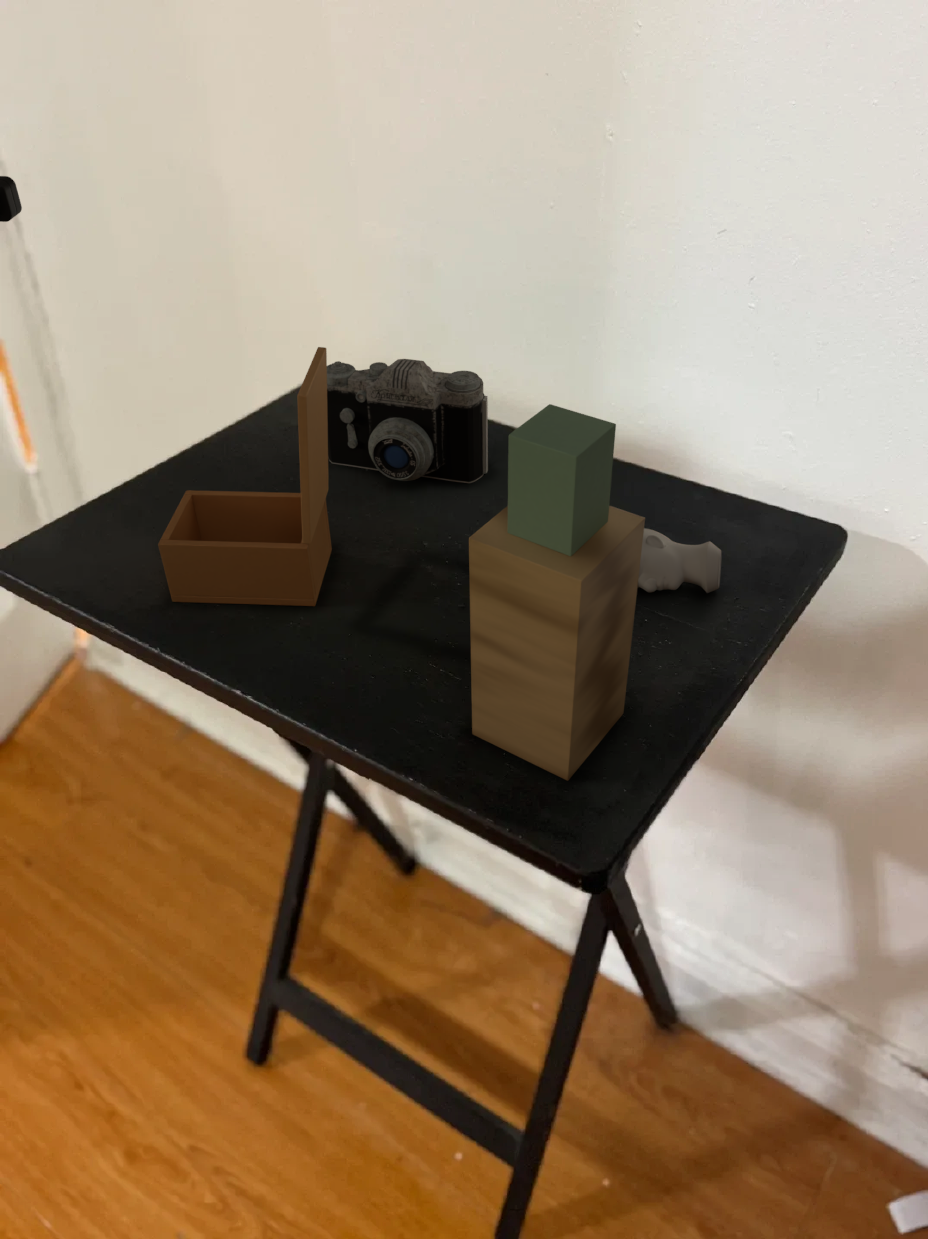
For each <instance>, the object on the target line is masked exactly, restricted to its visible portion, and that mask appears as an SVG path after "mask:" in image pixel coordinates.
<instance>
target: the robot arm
mask: <svg viewBox="0 0 928 1239" xmlns="http://www.w3.org/2000/svg"><path fill="white" fill-rule="evenodd" d="M22 209H23V207H22V203H21V199H20V195H19V192H18V188H17V184H16V182H15V180H14V179H13V178H12V177H10V176H7V175H0V222H3V223H7V222H10V221H11V220H12V219H14V218H15V217H16V216H17V215H19V214H20V213H22Z"/></svg>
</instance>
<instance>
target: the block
mask: <svg viewBox="0 0 928 1239" xmlns="http://www.w3.org/2000/svg"><path fill="white" fill-rule="evenodd" d="M616 429H617V424H616V423H615V422H611V421H607V420H606V419H605V420H604V419H602V418H597V417H595V416H591V415H588V414H585V413H582V412H578V411H574V410H572V409H568V408H564V407H561V406H557V405H554V404H550V403H549V404H548V405H547V406H545V407H544V408H542V409H541V410H539V411H538V412H537V413H536V414H534V415H533V416H532V417H531V418H529V419H528V420H526V421H525V422H524V423H522V424H521V425H519V426H518V427H517V428H516V429H514V430H513V431H511V432H510V433H509V434H508V443H507V444H508V445H507V446H508V449H507V450H508V451H507V452H508V453H507V454H508V455H507V506H508V533H509V534H512V535H514V536H517V537H520V538H522V539H525V540H528V541H530V542H533V543H536V544H538V545H541V546H544V547H547V548H549V549H552V550H555V551H557V552H560V553H563V554H565V555H568V556H572V555H573V554H574V553H575V552H576V551H577V550H578V549H579V548H581V547H582V546H583V545H584V544H585V543H586V542H587V541H588V540H589V539H590V538H591V537H592V536H593V535H594V534H595V533H596V532H597V531H598V530H599V529H600V528H602V527H603V526H604V525H605V524H606V523H607V522H608V513H609V506H610V500H611V488H612V477H613V465H614V455H615V454H614V452H615V442H616V440H615V439H616Z"/></svg>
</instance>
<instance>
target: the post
mask: <svg viewBox="0 0 928 1239" xmlns="http://www.w3.org/2000/svg"><path fill="white" fill-rule="evenodd" d="M645 521H646V517H644V516H641V515H638V514H636V513H632V512H630V511H626V510H624V509H620V508H619V507H618V508H617V507H615V506H612V505H609V513H608V522H607V523H606V524H605V525H604V526H603V527H602V528H600V529H599V530H598V531H597V532H596V533H595V534H594V535H593V536H592V537H591V538H590V539H589V540H588V541H587V542H586V543H585V544H584V545H583V546H582V547H581V548H579V549H578V550H577V551H576V552H575V553H574V554H573V555H572V556H568V555H565V554H563V553H560V552H557V551H555V550H552V549H549V548H547V547H544V546H541V545H538V544H536V543H533V542H530V541H528V540H525V539H522V538H520V537H517V536H514V535H512V534H509V533H508V505H507V506H506V507H504V508H503V509H501V511H499V512H498V513H497V514H496V515H495V516H493V517H492V518H491V519H490V520H488V522H486V523H485V524H484V525H482V526H481V527H480V528H479V529H477V530H476V531H475V532H474V533H473V534H471V536H469V537H468V563H469V564H468V566H469V567H468V568H469V570H468V571H469V573H468V574H469V575H468V576H469V622H470V624H469V626H470V629H469V630H470V677H471V678H470V679H471V682H470V683H471V684H470V685H471V688H470V689H471V728H472V729H471V734H472V735H473V736H475V737H477V738H479V739H481V740H483V741H485V742H487V743H489V744H492V745H493V746H495V747H497V748H500V749H501V750H504V751H506V752H508V753H510V754H512V755H513V756H516V757H518V758H520V759H522V760H524V761H526V762H528V763H530V764H532V765H534V766H536V767H539V768H541V769H542V770H544V771H547V772H548V773H551V774H553V775H555V776H557V777H559V778H561V779H563V780H565V781H566V782H568V781H569V780H570V779H571V778H572V777H573V775H574V774H575V773H576V772H577V771H578V769H580V767H581V766H582V764H583V763H584V762H585V761H586V760H587V758H588V757H589V756H590V755H591V754H592V752H593V751H594V750H595V749H596V747H597V746H598V745H599V744H600V743H601V741H602V740H603V739H604V738H605V737H606V735H607V734H608V733H609V732H610V730H611V729H612V728H613V727H614V725H615V724H616V723H617V722H618V721H619V719H621V717H622V716H623V715H624V711H625V703H626V696H627V695H626V693H627V684H628V675H629V666H630V657H631V650H632V648H631V647H632V642H633V641H632V639H633V632H634V631H633V630H634V624H635V623H634V621H635V613H636V612H635V611H636V604H637V595H638V588H639V587H638V578H639V569H640V560H641V551H642V542H643V533H644V528H645ZM637 587H638V588H637Z"/></svg>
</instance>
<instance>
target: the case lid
mask: <svg viewBox="0 0 928 1239" xmlns="http://www.w3.org/2000/svg"><path fill="white" fill-rule="evenodd" d="M327 357H328V355H327V347H324V346H318V347H317V348H316V351H315V353H314V355H313V358H312V360H311V363H310V365H309V368H308V370H307V372H306V374H305V377H304V379H303V380H302V384H301V386H300V388H299V391H298V392H297V395H296V396H297V397H296V398H297V399H296V400H297V426H298V427H297V428H298V453H299V454H298V456H299V482H300V483H299V485H300V493H301V515H302V542H303V543H305V544H311V541H312V538H313V535H314V532H315V529H316V526H317V523H318V520H319V517H320V514H321V511H322V508H323V505H324V502H325V499H326V500H327V495H328V492H329V458H328V420H327V366H328V364H327V360H328V358H327Z"/></svg>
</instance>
